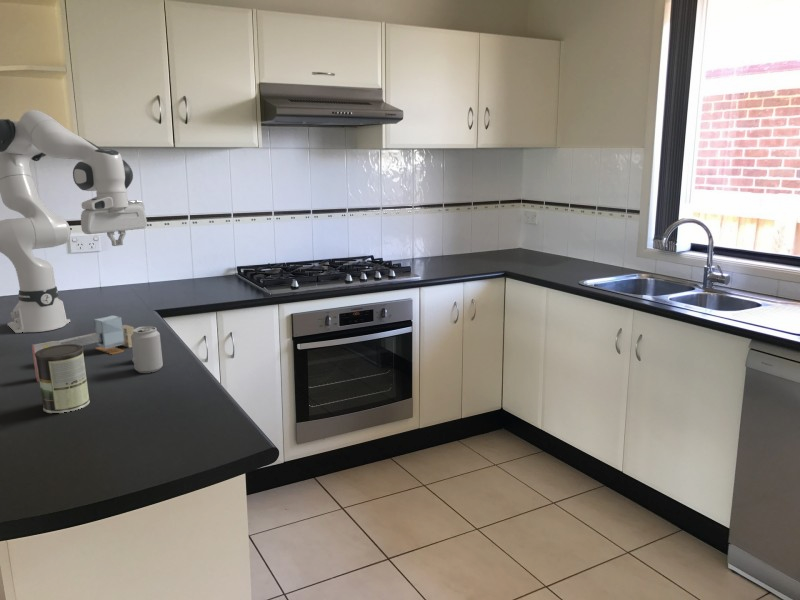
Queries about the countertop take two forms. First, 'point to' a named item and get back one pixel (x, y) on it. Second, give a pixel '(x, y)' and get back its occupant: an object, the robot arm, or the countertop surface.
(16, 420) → the countertop surface
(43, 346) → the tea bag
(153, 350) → the can
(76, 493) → the countertop surface
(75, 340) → the rail
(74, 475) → the countertop surface
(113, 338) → the light blue block
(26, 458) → the countertop surface
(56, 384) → the coffee can
